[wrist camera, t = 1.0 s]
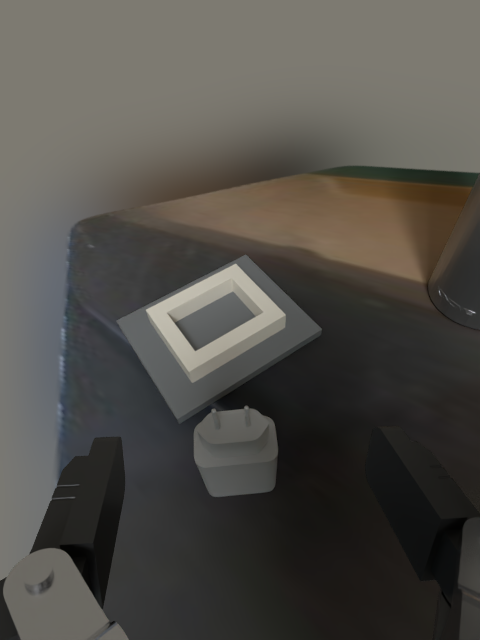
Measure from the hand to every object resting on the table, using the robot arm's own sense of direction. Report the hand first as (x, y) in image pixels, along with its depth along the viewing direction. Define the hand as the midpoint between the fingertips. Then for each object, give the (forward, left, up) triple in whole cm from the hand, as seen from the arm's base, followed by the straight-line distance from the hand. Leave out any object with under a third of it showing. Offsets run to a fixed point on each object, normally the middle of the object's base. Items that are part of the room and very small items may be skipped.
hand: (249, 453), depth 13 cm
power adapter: (-2, -5, -20) cm, 21 cm away
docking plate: (-8, -18, -20) cm, 28 cm away
